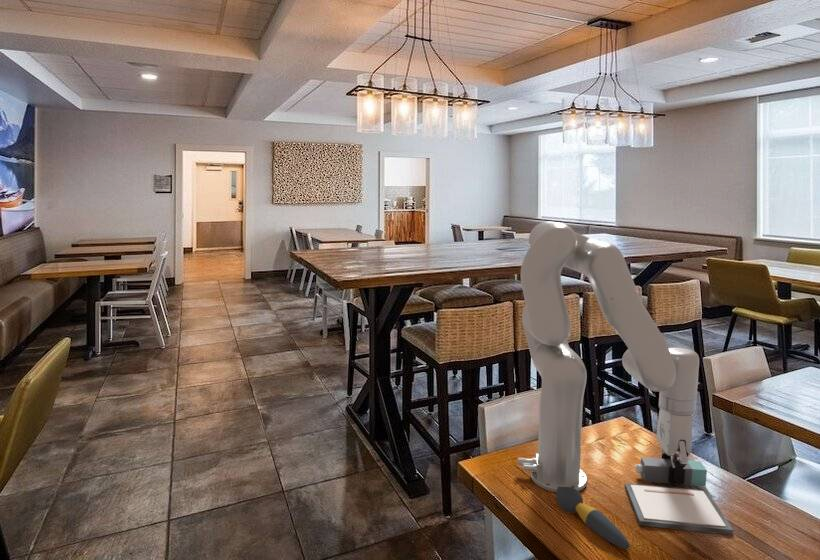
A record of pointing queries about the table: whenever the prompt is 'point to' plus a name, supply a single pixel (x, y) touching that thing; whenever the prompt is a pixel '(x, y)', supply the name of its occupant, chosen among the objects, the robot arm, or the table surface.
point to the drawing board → (677, 508)
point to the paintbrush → (590, 516)
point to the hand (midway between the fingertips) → (672, 475)
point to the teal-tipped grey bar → (660, 471)
